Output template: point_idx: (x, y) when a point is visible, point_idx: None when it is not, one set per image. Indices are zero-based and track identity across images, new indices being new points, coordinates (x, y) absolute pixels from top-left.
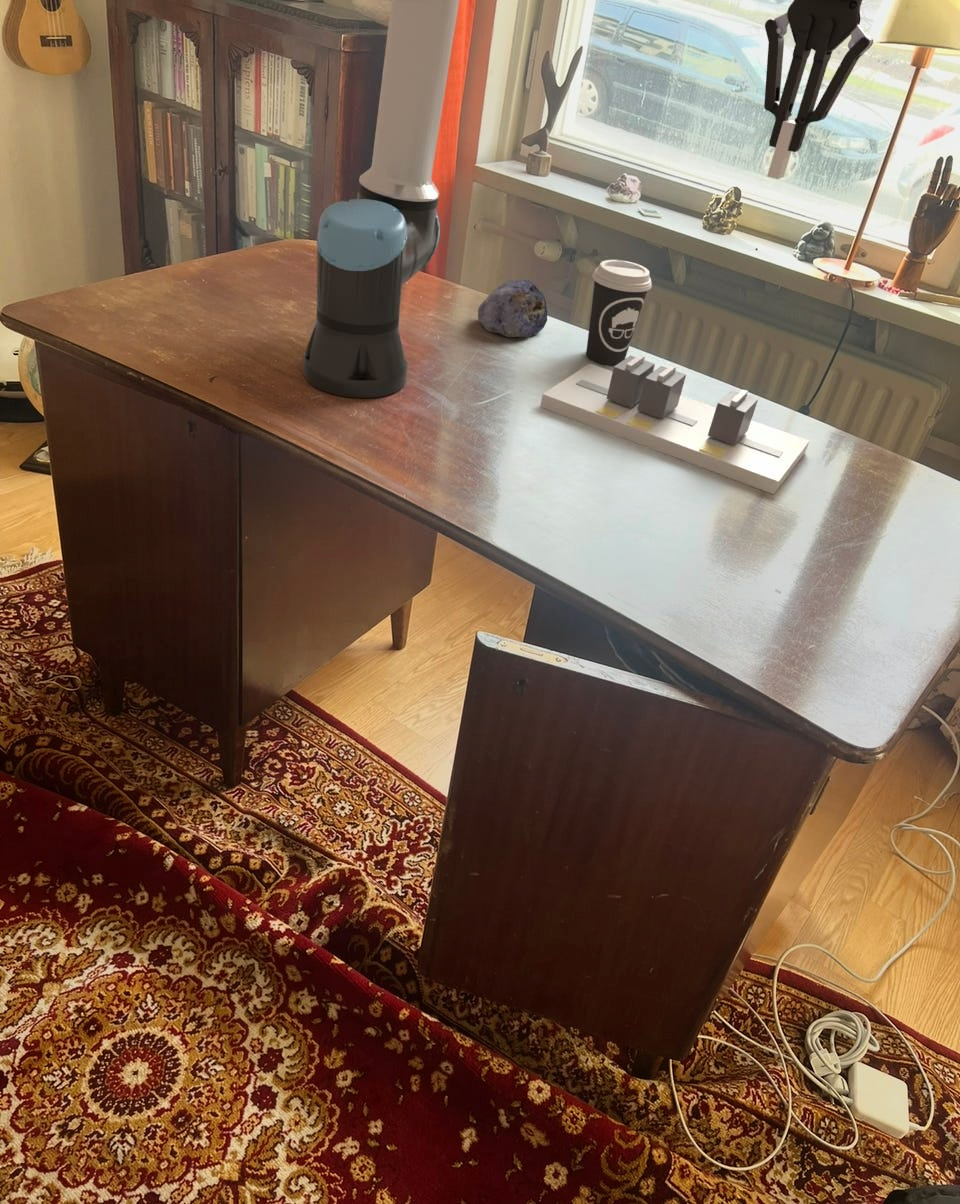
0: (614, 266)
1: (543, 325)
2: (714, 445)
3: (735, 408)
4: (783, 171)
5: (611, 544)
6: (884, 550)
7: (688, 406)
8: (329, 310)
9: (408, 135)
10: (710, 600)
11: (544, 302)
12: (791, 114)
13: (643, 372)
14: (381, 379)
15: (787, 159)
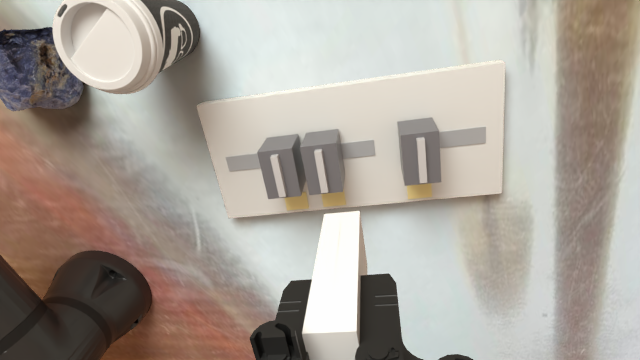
0: (68, 23)
1: None
2: None
3: (427, 182)
4: (362, 241)
5: (415, 342)
6: (625, 199)
7: (345, 109)
8: None
9: None
10: (503, 351)
11: (38, 40)
12: (297, 340)
13: (298, 183)
14: (142, 311)
15: (361, 258)
